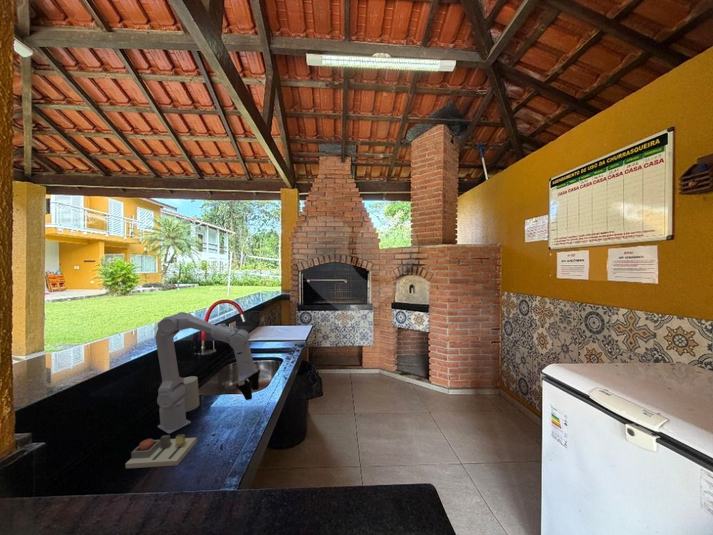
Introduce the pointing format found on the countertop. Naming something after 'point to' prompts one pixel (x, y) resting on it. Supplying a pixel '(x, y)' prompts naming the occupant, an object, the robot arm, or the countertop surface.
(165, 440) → the grey slider knob
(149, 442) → the red button
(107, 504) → the countertop surface
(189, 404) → the cup
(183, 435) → the yellow slider knob
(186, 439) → the panel
